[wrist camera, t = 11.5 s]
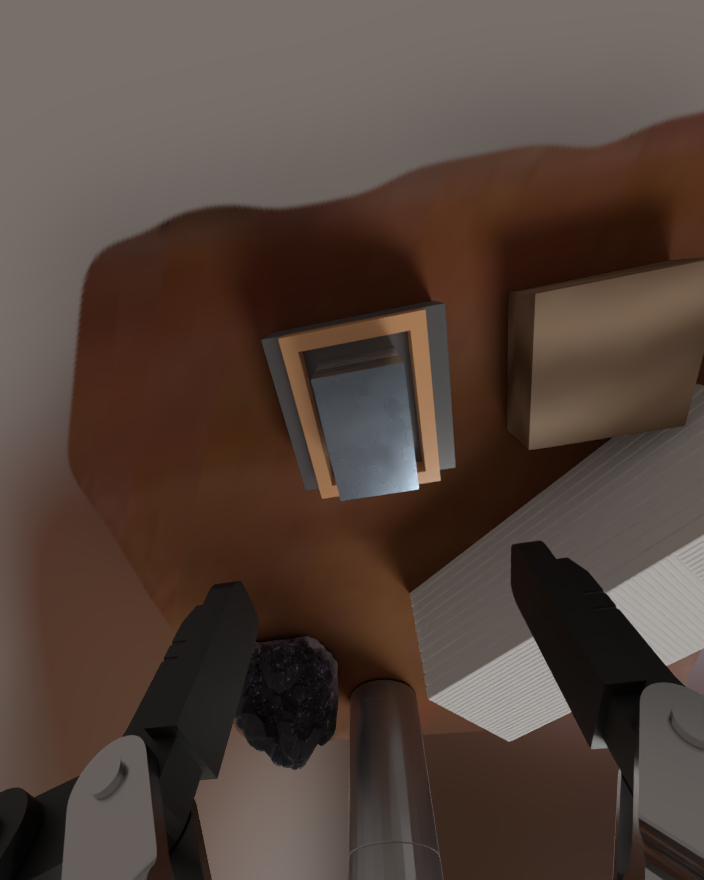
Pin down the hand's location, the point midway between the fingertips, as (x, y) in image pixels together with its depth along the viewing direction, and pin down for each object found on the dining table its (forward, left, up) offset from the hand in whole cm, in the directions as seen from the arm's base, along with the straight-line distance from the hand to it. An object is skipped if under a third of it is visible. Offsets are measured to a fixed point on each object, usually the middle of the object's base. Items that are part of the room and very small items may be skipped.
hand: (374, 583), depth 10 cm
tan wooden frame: (0, 0, -19) cm, 19 cm away
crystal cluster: (-35, +16, -20) cm, 43 cm away
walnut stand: (0, -17, -19) cm, 26 cm away
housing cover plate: (0, 0, -12) cm, 12 cm away
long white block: (-18, -17, -20) cm, 32 cm away
